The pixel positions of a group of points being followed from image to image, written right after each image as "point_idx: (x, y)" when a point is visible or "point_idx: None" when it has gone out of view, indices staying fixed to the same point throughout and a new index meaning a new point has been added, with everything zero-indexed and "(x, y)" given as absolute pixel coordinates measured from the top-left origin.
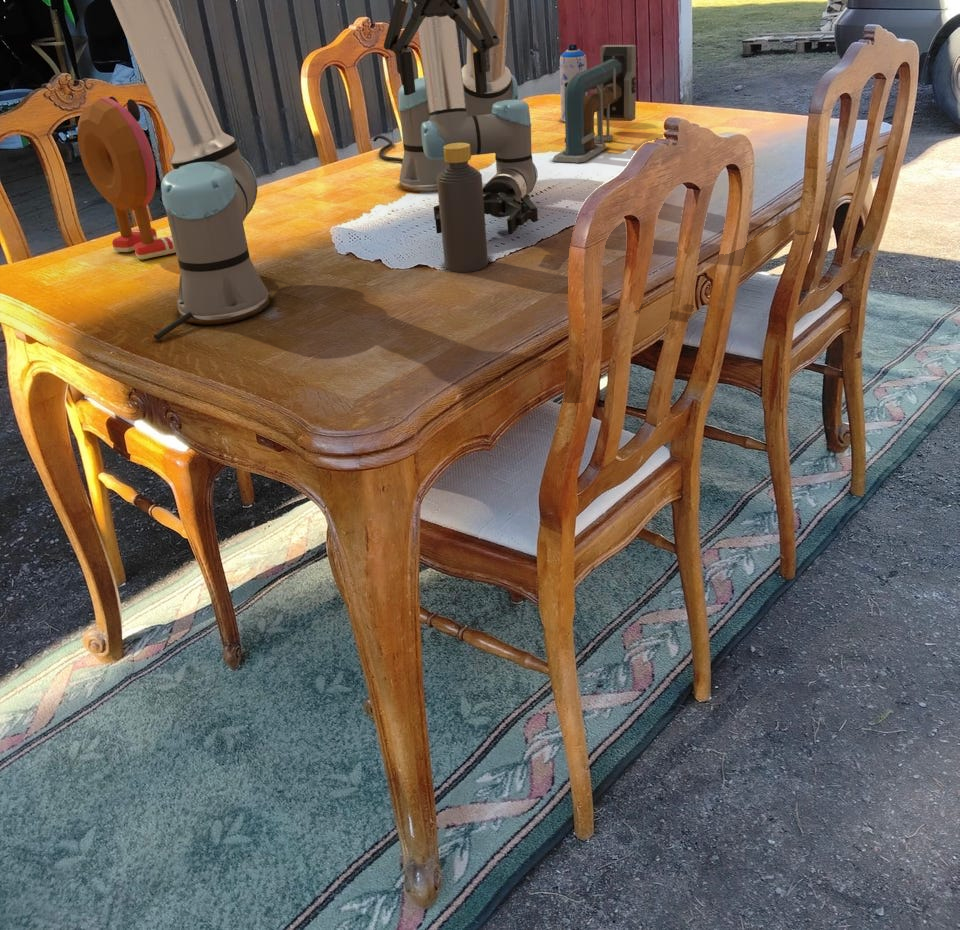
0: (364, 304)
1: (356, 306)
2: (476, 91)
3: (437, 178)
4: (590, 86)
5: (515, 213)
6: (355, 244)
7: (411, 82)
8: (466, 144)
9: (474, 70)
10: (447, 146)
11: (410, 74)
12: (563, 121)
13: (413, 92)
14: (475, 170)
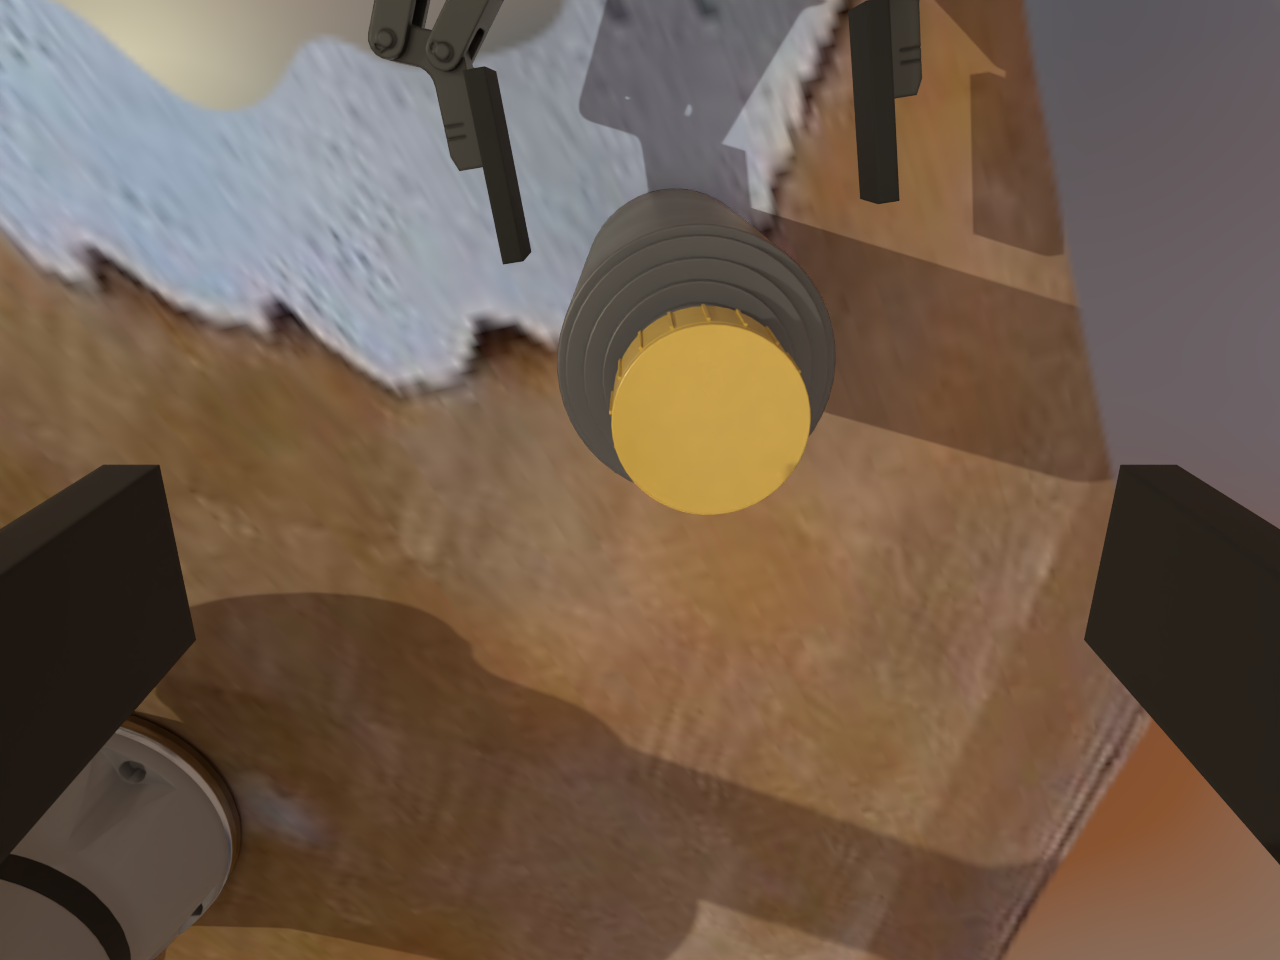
0: (508, 696)
1: (493, 713)
2: (1110, 662)
3: (581, 431)
4: None
5: (889, 87)
6: (26, 136)
7: (104, 601)
8: (774, 379)
9: (1254, 831)
10: (649, 451)
11: (38, 665)
12: None
13: (167, 520)
14: (800, 337)
